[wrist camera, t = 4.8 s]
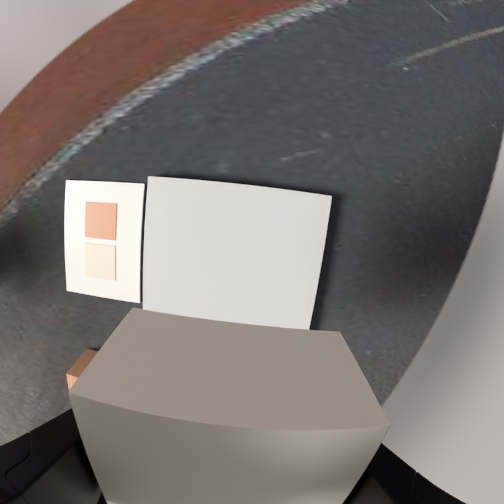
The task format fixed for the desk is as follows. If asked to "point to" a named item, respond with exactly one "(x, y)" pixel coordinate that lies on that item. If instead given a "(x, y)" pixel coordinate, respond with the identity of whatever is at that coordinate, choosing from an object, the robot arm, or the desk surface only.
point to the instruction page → (103, 238)
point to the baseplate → (233, 251)
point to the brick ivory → (225, 413)
